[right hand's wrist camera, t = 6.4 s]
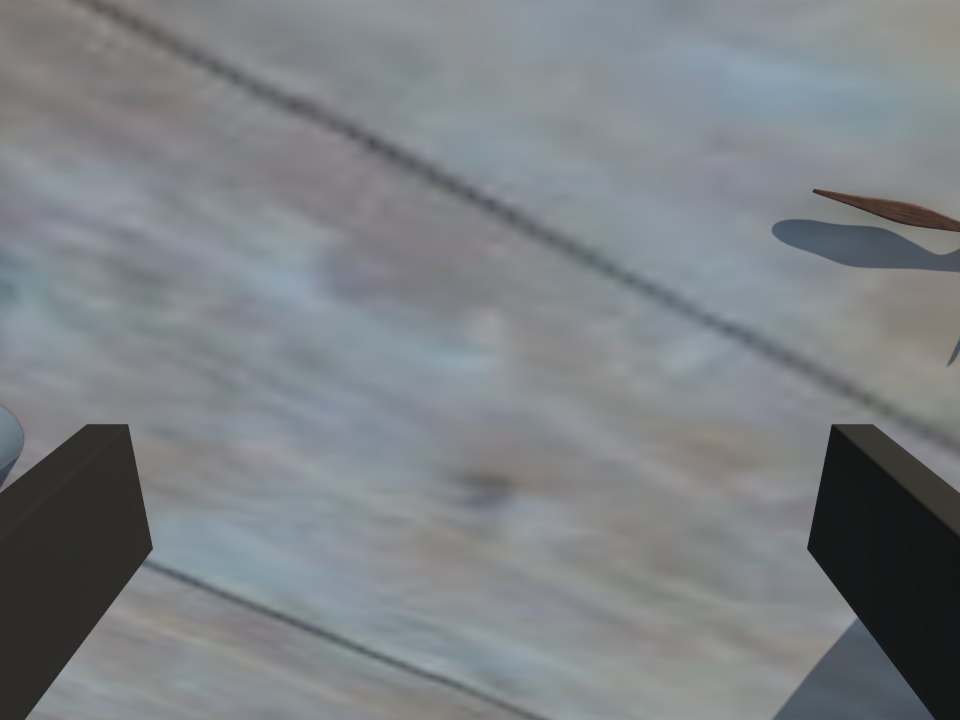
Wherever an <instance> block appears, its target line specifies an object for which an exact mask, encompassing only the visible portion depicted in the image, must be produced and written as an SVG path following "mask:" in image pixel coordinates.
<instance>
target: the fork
mask: <svg viewBox="0 0 960 720" xmlns="http://www.w3.org/2000/svg"><path fill="white" fill-rule="evenodd" d="M813 192H814V193H816V194H819V195H822V196H825V197H828V198H831V199H834V200H837V201H839V202H842V203H845V204H848V205H851V206H854V207H856V208H859V209H862V210H864V211H867V212H870V213H872V214H875V215H878V216H880V217H883V218H886V219H888V220H891V221H894V222H898V223H901V224H906V225H911V226H917V227H924V228H932V229H940V230H948V231H956V232H960V222H959V221H956V220H954V219H951V218H949V217H946V216H944V215H941V214H939V213H936V212H934V211H931V210H928V209H926V208H923V207H920V206H917V205H913V204H909V203H904V202H898V201H891V200H883V199H875V198H868V197H861V196H854V195H848V194H841V193H835V192H830V191H824V190H817V189H814V190H813Z"/></svg>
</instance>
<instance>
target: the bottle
mask: <svg viewBox="0 0 960 720" xmlns="http://www.w3.org/2000/svg"><path fill="white" fill-rule="evenodd" d="M23 445H24V435H23V431H22V428H21V426H20V424H19V422H18V421H17V420H16V418H15V417H14V416H13V415H12V414H11V413H10V412H9V411H8V410H7V409H5V408H4V407H2V406H0V470H1V469H3V468H4V467H6V466H7V465H8V464H10V463H11V462H12V461H14V460H15V459H16V458H17V457H18V456H19V455H20V453H21V451H22V449H23Z"/></svg>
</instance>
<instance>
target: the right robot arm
mask: <svg viewBox="0 0 960 720" xmlns="http://www.w3.org/2000/svg"><path fill="white" fill-rule="evenodd" d="M152 549H153V547H152V542H151V537H150V532H149V527H148V522H147V517H146V512H145V507H144V502H143V497H142V492H141V487H140V482H139V477H138V472H137V467H136V462H135V456H134V451H133V446H132V441H131V436H130V431H129V426H128V424H87V425H86V426H84V427H83V428H82V429H81V430H79V431H78V432H77V433H76V434H74V435H73V436H72V437H70V438H69V439H68V440H67V441H65V442H64V443H63V444H62V445H60V446H59V447H58V448H57V449H55V450H54V451H53V452H52V453H50V454H49V455H48V456H47V457H45V458H44V459H43V460H41V461H40V462H39V463H38V464H36V465H35V466H34V467H33V468H31V469H30V470H29V471H28V472H26V473H25V474H24V475H23V476H21V477H20V478H19V479H17V480H16V481H15V482H14V483H12V484H11V485H10V486H9V487H7V488H6V489H5V490H4V491H2V492H1V493H0V720H25V719H26V717H27V716H28V715H29V713H30V712H31V711H32V709H33V708H34V707H35V705H36V704H37V703H38V701H39V700H40V699H41V697H42V696H43V695H44V693H45V692H46V691H47V689H48V688H49V687H50V685H51V684H52V683H53V681H54V680H55V679H56V677H57V676H58V675H59V673H60V672H61V671H62V669H63V668H64V667H65V665H66V664H67V663H68V661H69V660H70V659H71V657H72V656H73V655H74V653H75V652H76V651H77V649H78V648H79V647H80V645H81V644H82V643H83V641H84V640H85V639H86V637H87V636H88V635H89V633H90V632H91V631H92V629H93V628H94V627H95V625H96V624H97V623H98V621H99V620H100V619H101V617H102V616H103V615H104V613H105V612H106V611H107V609H108V608H109V607H110V605H111V604H112V603H113V601H114V600H115V599H116V597H117V596H118V595H119V593H120V592H121V591H122V589H123V588H124V587H125V585H126V584H127V583H128V581H129V580H130V579H131V577H132V576H133V575H134V573H135V572H136V571H137V569H138V568H139V567H140V565H141V564H142V563H143V561H144V560H145V559H146V557H147V556H148V555H149V553H150V552H151V551H152ZM807 549H808V551H809V552H810V553H811V555H812V556H813V557H814V559H815V560H816V561H817V563H818V564H819V565H820V567H821V568H822V569H823V571H824V572H825V573H826V575H827V576H828V577H829V579H830V580H831V581H832V583H833V584H834V585H835V587H836V588H837V589H838V591H839V592H840V593H841V595H842V596H843V597H844V599H845V600H846V601H847V603H848V604H849V605H850V607H851V608H852V609H853V611H854V612H855V613H856V615H857V616H858V617H859V619H860V620H861V621H862V623H863V624H864V625H865V627H866V628H867V629H868V631H869V632H870V633H871V635H872V636H873V637H874V639H875V640H876V641H877V643H878V644H879V645H880V647H881V648H882V649H883V651H884V652H885V653H886V655H887V656H888V657H889V659H890V660H891V661H892V663H893V664H894V665H895V667H896V668H897V669H898V671H899V672H900V673H901V675H902V676H903V677H904V679H905V680H906V681H907V683H908V684H909V685H910V687H911V688H912V689H913V691H914V692H915V693H916V695H917V696H918V697H919V699H920V700H921V701H922V703H923V704H924V705H925V707H926V708H927V709H928V711H929V712H930V713H931V715H932V716H933V717H934V719H935V720H960V493H959V492H958V491H956V490H955V489H954V488H953V487H951V486H950V485H949V484H948V483H946V482H945V481H944V480H943V479H941V478H940V477H939V476H937V475H936V474H935V473H934V472H932V471H931V470H930V469H929V468H927V467H926V466H925V465H924V464H922V463H921V462H920V461H919V460H917V459H916V458H915V457H913V456H912V455H911V454H910V453H908V452H907V451H906V450H905V449H903V448H902V447H901V446H900V445H898V444H897V443H896V442H895V441H893V440H892V439H891V438H890V437H888V436H887V435H886V434H884V433H883V432H882V431H881V430H879V429H878V428H877V427H876V426H874V425H873V424H832V426H831V431H830V436H829V441H828V446H827V451H826V456H825V462H824V467H823V472H822V477H821V482H820V487H819V492H818V497H817V502H816V507H815V512H814V517H813V522H812V527H811V532H810V537H809V542H808V547H807Z"/></svg>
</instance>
